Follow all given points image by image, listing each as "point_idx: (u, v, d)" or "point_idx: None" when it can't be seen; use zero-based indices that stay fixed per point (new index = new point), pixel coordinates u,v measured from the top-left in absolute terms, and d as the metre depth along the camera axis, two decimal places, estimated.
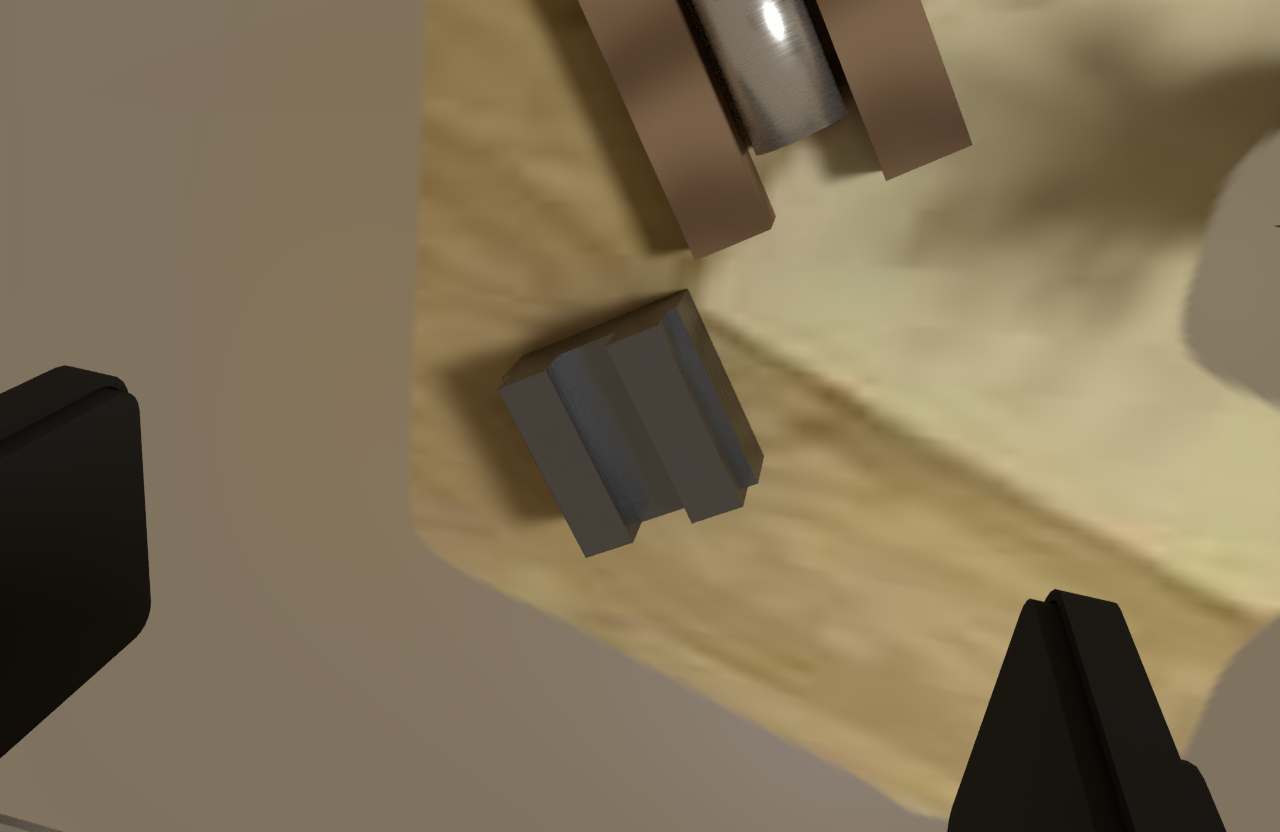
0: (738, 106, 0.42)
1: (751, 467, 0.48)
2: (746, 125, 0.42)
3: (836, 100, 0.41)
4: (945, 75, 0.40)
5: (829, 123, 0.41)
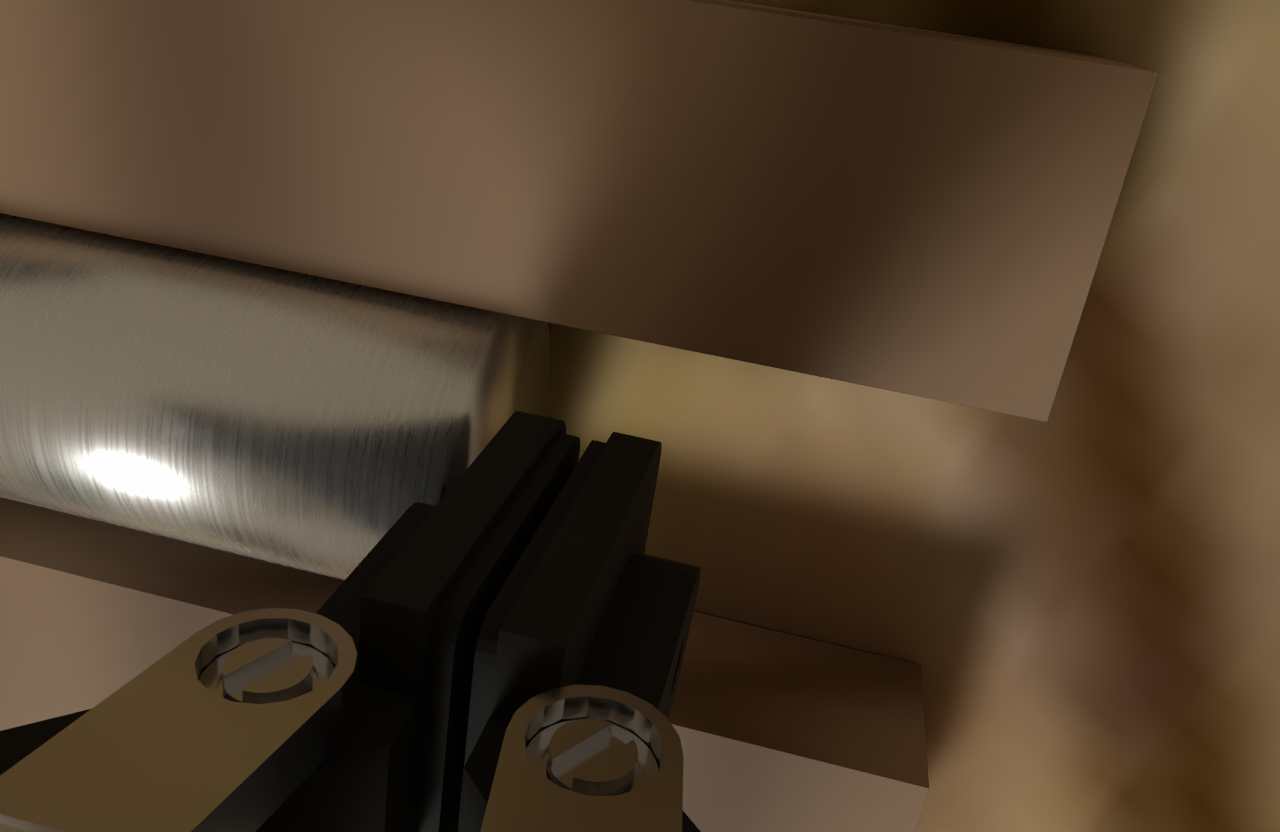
0: None
1: None
2: None
3: None
4: None
5: None
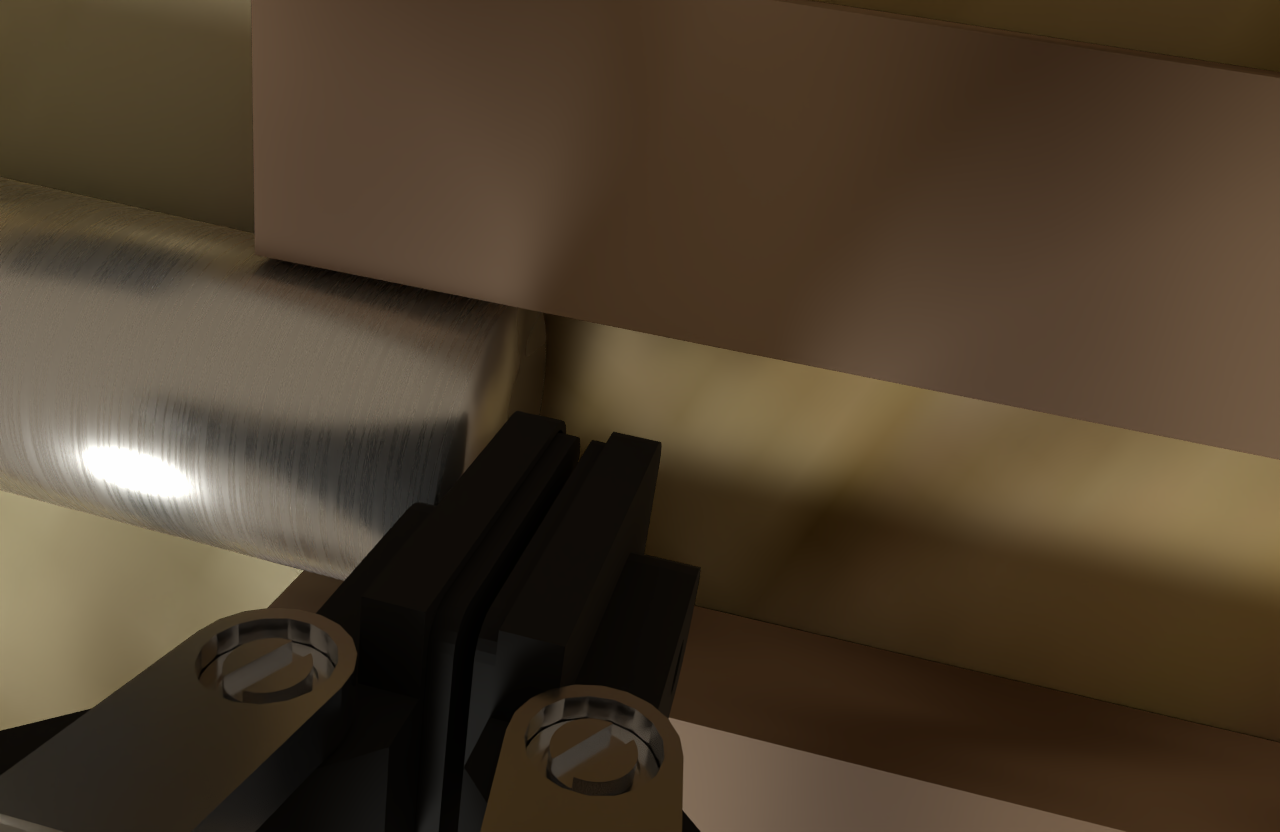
0: None
1: None
2: None
3: None
4: None
5: None
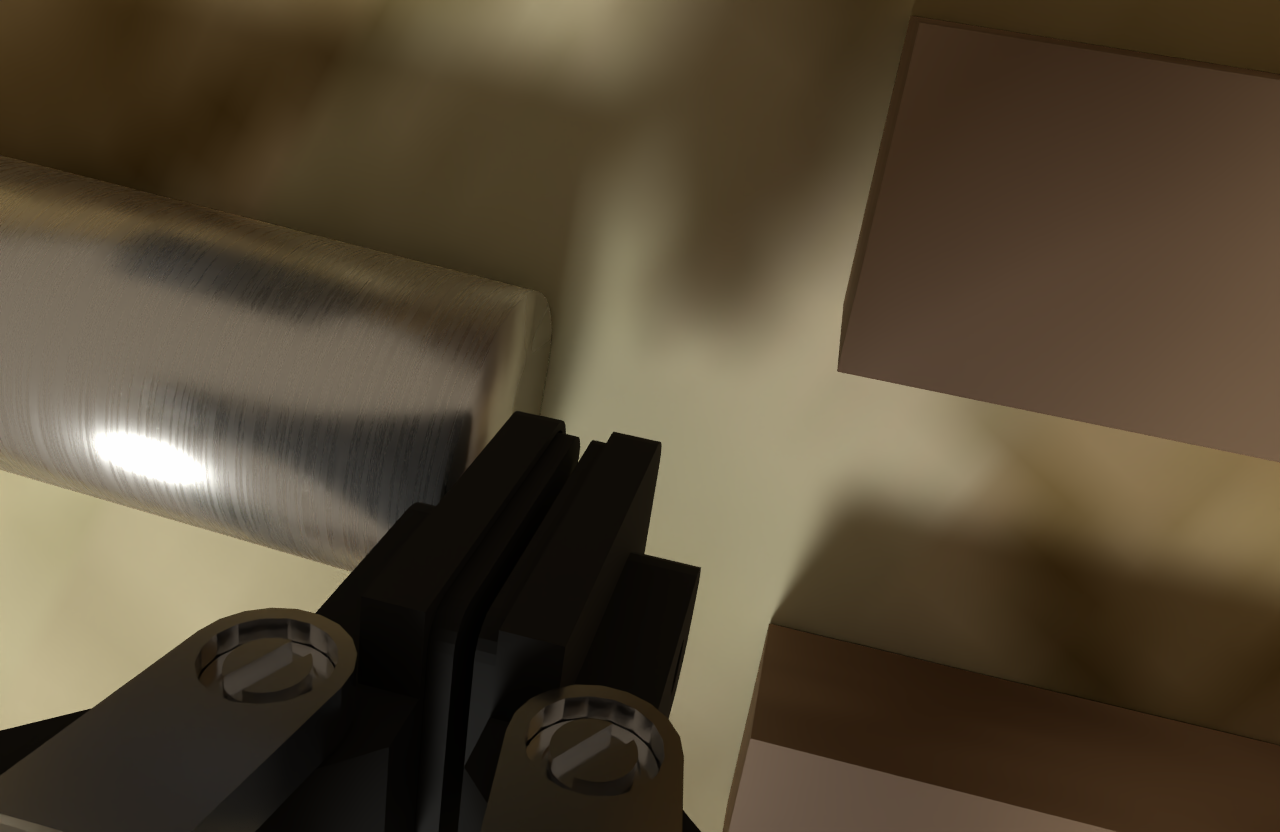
0: None
1: None
2: None
3: None
4: None
5: None
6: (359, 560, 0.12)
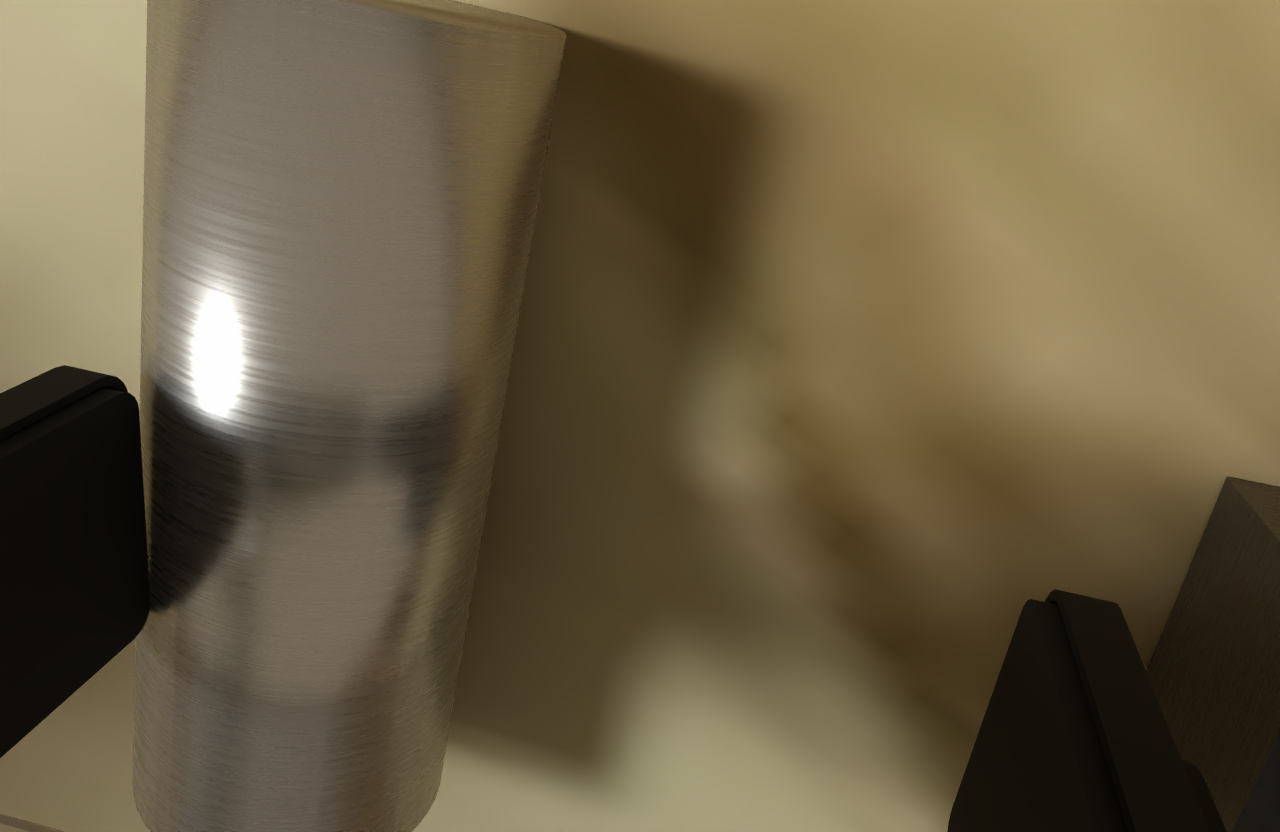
0: (158, 194, 0.10)
1: None
2: (159, 107, 0.10)
3: None
4: None
5: None
6: None
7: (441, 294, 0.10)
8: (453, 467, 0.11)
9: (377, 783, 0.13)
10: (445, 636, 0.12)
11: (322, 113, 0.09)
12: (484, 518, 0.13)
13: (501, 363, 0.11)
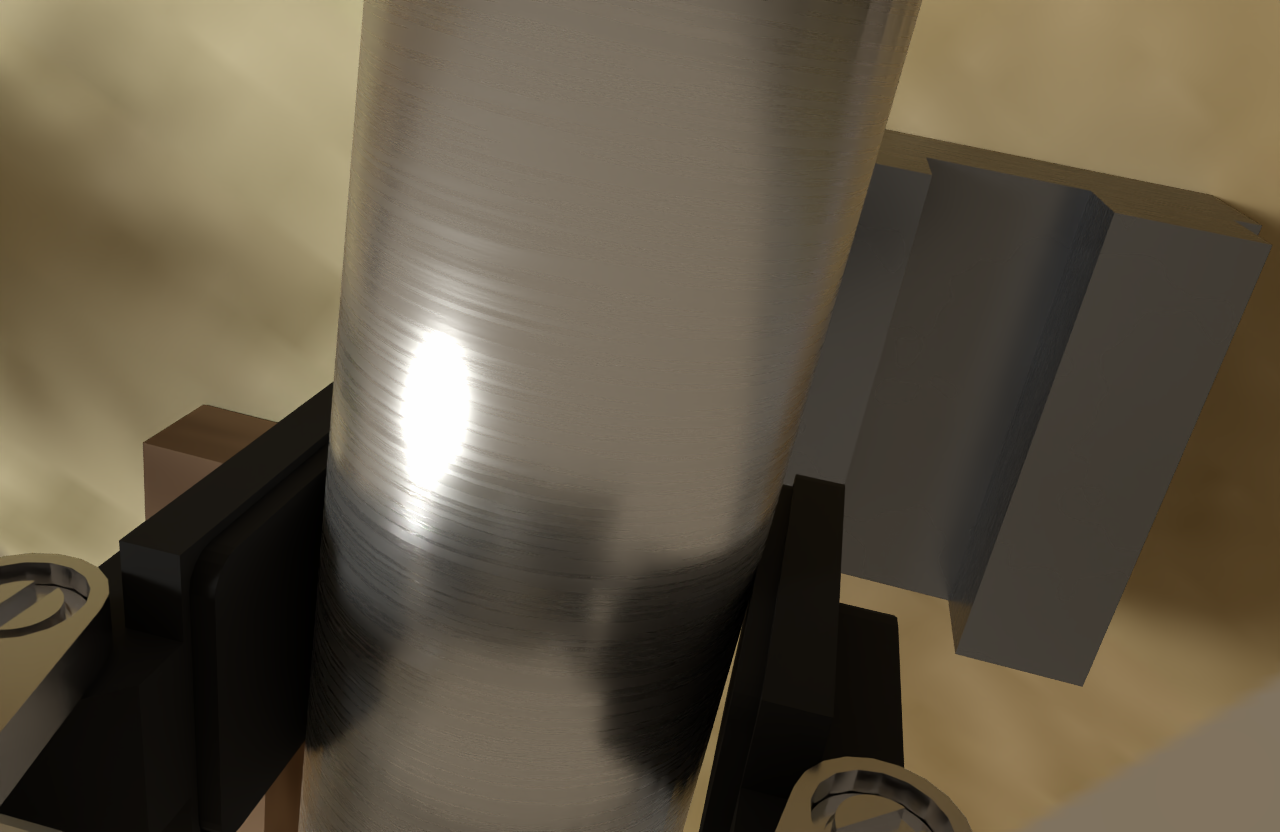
0: (691, 299, 0.07)
1: None
2: (716, 177, 0.06)
3: None
4: None
5: None
6: None
7: None
8: None
9: None
10: None
11: (884, 126, 0.08)
12: None
13: None
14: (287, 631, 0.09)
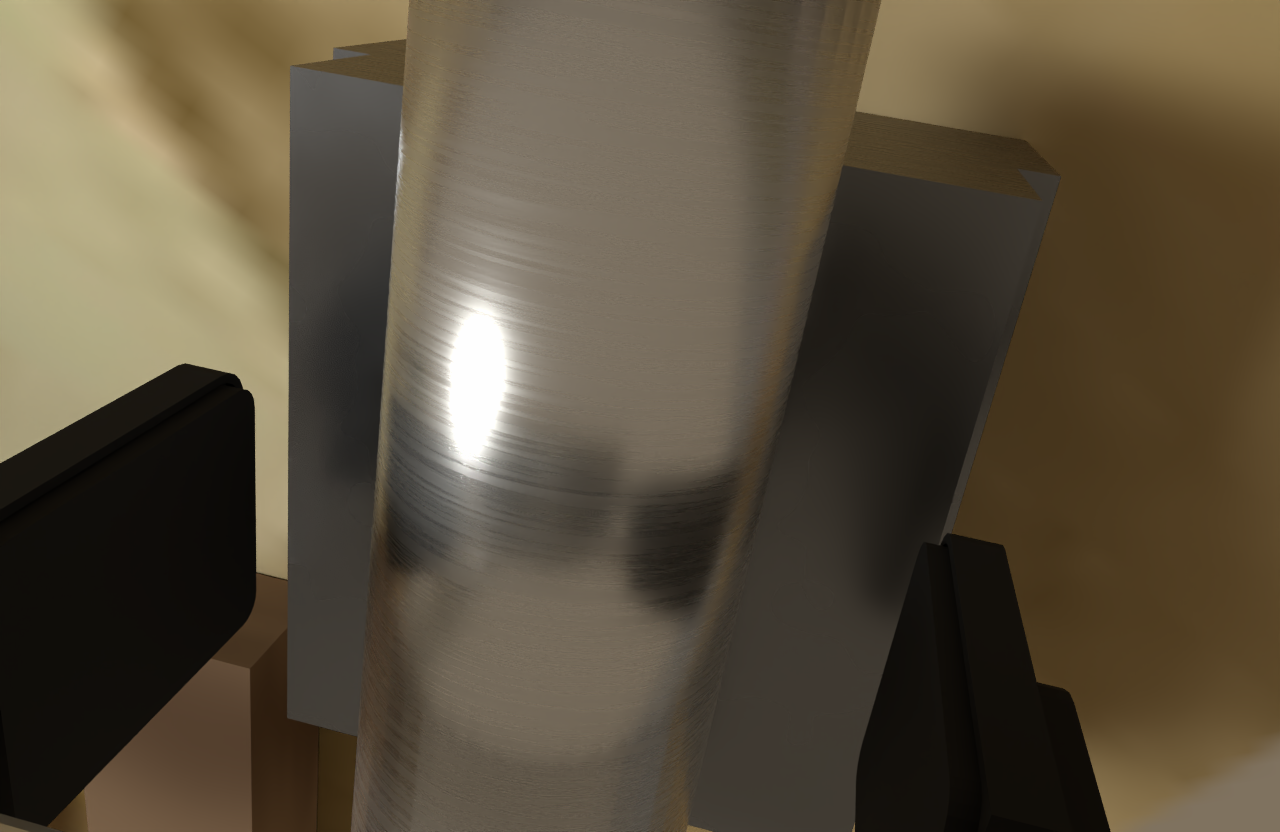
0: (685, 245, 0.08)
1: None
2: (703, 139, 0.08)
3: None
4: None
5: None
6: None
7: None
8: None
9: None
10: None
11: (853, 101, 0.09)
12: None
13: None
14: (95, 626, 0.09)
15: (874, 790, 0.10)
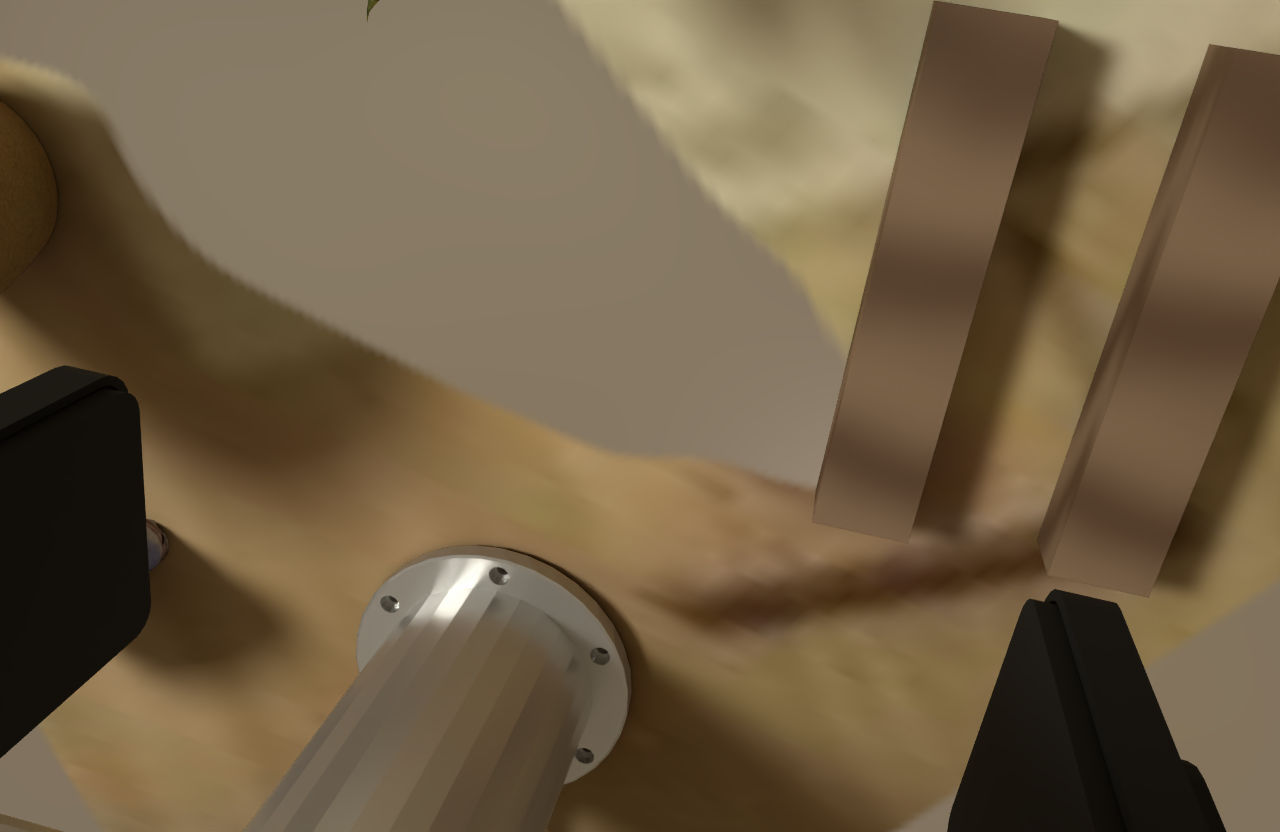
0: None
1: None
2: None
3: None
4: (917, 100, 0.32)
5: None
6: None
7: None
8: None
9: None
10: None
11: None
12: None
13: None
14: None
15: None
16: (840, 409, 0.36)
